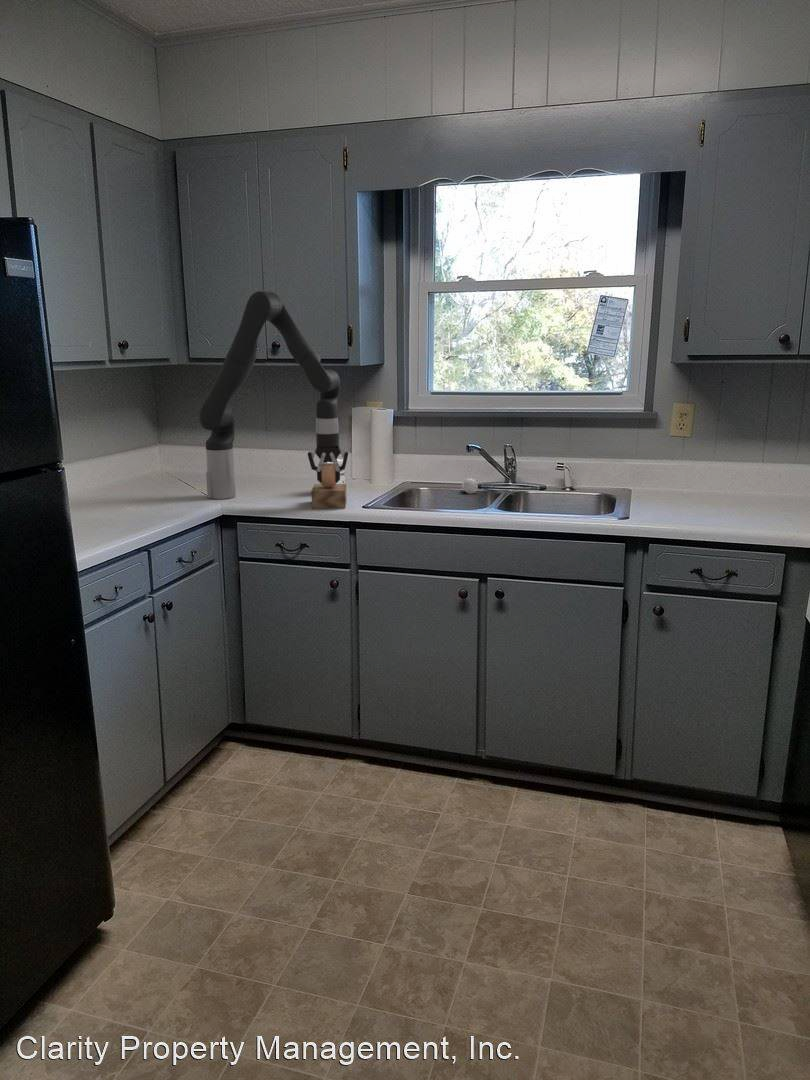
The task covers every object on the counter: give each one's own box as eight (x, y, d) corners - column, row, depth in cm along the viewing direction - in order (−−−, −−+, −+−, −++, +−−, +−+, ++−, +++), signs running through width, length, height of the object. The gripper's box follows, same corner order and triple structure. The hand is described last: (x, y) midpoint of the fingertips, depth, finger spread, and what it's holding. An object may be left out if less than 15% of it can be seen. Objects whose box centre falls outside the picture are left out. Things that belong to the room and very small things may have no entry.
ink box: (330, 495, 286) (329, 462, 283) (319, 493, 289) (318, 461, 286) (346, 491, 293) (345, 459, 290) (335, 490, 296) (334, 458, 293)
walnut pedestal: (312, 508, 264) (311, 491, 262) (314, 501, 276) (314, 484, 274) (345, 508, 264) (344, 490, 263) (346, 501, 276) (346, 483, 274)
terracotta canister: (320, 486, 266) (320, 465, 264) (321, 483, 270) (321, 463, 269) (335, 486, 266) (335, 465, 264) (336, 483, 271) (336, 463, 269)
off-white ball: (461, 485, 287) (459, 483, 291) (469, 496, 288) (467, 493, 293) (472, 477, 286) (470, 475, 291) (480, 488, 287) (478, 485, 292)
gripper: (304, 433, 260) (306, 484, 264) (348, 432, 260) (349, 484, 265) (306, 430, 267) (308, 480, 271) (349, 430, 268) (350, 480, 272)
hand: (328, 482), depth 268 cm, fingers closed on terracotta canister, 5 cm apart
